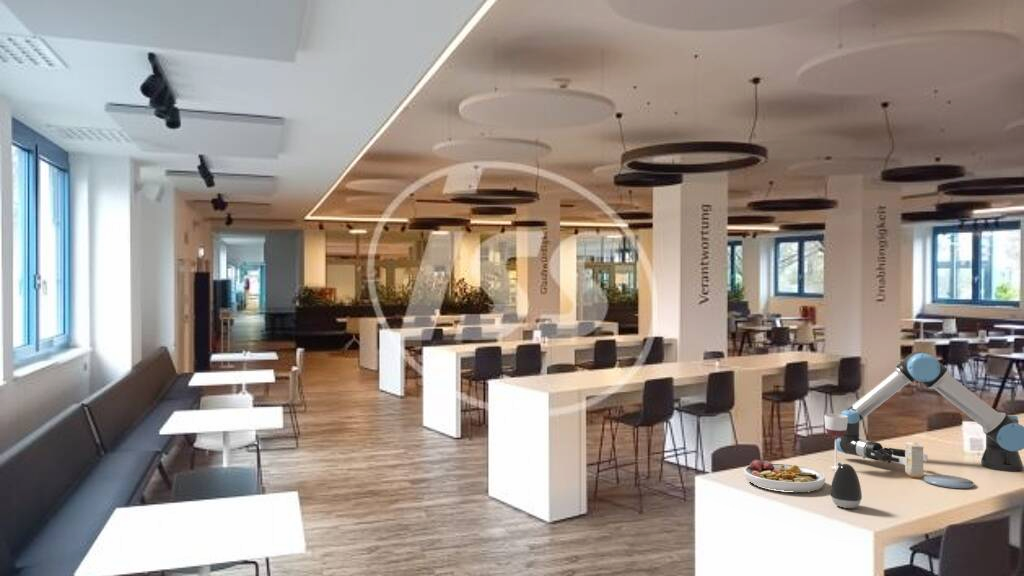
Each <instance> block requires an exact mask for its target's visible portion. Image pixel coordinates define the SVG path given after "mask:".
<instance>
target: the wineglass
mask: <svg viewBox="0 0 1024 576" xmlns="http://www.w3.org/2000/svg"><path fill="white" fill-rule="evenodd" d="M823 419H824V427H825V428H824V429H825V431H826V433H827V434H828V435H829V436H830V437H832V438H833V439H834V466H831V467H832V468H835V469H836V468H838V467H839V466H838V450H837V439H838V438H840V437H842V436H843V435H844V434H845V433H846V430H847V422H848V416H846V415H842V414H841V413H825V414H824V417H823Z"/></svg>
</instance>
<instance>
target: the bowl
mask: <svg viewBox="0 0 1024 576" xmlns="http://www.w3.org/2000/svg"><path fill="white" fill-rule="evenodd" d="M743 473H744V477H745V479H746V481H748V483H750V482H751V483H753V484H755V485H758V486H761V487H765V488H770V489H776V490H784V491H793V492H808V491H813V492H816V491H818V490H820V489H821V488H822V487H823V486H824V485H825V483H826V476H825V474H824V473H822V472H820V471H818V470H816V469H813V468H809V467H805V466H801V465H800V466H799V465H797V464H786V463H772V462H771V461H769V460H763V461H761V460H760V459H754V460H752V461H750V463H749V465H747V466H746V467H745V468H744V469H743ZM751 483H750V484H751ZM815 490H816V491H815ZM808 493H809V492H808Z"/></svg>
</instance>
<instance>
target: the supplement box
mask: <svg viewBox="0 0 1024 576" xmlns="http://www.w3.org/2000/svg"><path fill="white" fill-rule="evenodd" d="M904 450H905V457H904V458H908V465H904V473H905V474H906V475H908V476H909V477H910V478H913V479H914V478H915V479H924V461H923V454H924V446H923V445H921V444H920V443H917V442H907V441H906V442H904Z"/></svg>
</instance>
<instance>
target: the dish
mask: <svg viewBox="0 0 1024 576" xmlns="http://www.w3.org/2000/svg"><path fill="white" fill-rule="evenodd" d="M923 480H924V482H925V483H928V484H931V485H934V486H938V487H943V488H944V487H945V488H950V489H951V488H952V489H971V488H973V487H974V486H975V484H974V482H973V480H971V479H967V478H964V477H960V476H955V475H950V474H927V475H923Z"/></svg>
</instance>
